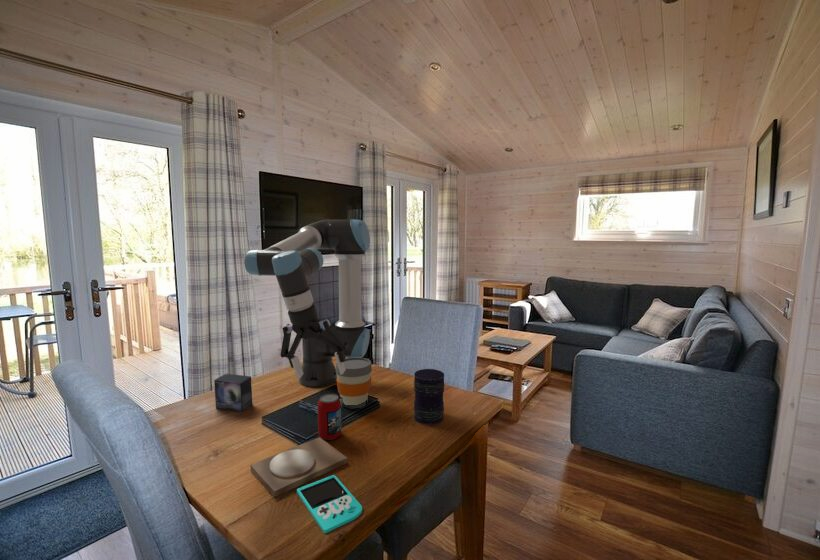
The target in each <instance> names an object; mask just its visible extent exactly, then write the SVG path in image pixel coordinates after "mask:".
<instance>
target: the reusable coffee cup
mask: <svg viewBox="0 0 820 560" xmlns="http://www.w3.org/2000/svg"><path fill="white" fill-rule="evenodd" d="M344 365H345V368H346V370H345V372H344V373H343V374H341V375H340V372H339V368H338V365H337V362H336V365H335V369H336V373H337V380H336V386H337V392H338V394H339V396H340V397H342V398H343V402H344V404H345V405H358V404H361V403H363V402H365V401H366V400H367V401H368V398H369V397H368V396H369V392H370V391H371V390H370V389H371V383H372V376H371V373H372V371H373V368H372V361H371V360H370V359H369V358H364V357H361V358H360V357H351V358H347V357H345V361H344Z"/></svg>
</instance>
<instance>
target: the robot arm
mask: <svg viewBox="0 0 820 560" xmlns="http://www.w3.org/2000/svg"><path fill="white" fill-rule="evenodd" d="M370 244H371V236H370V231H369V228H368V226H367V224H366V222H365V221H364V220H362V219H354V218H352V219H351V218H349V219H331V218H330V219H321V220H318V221H316V222H312V223H310V224H307V225H305V226H303V227H301V228H300V229H299V230H298V231H297V233H295V234H293V235H291V236H289V237H287V238H286V239H283V240H281V241H279V242H277V243H275V244H273V245H271V246H269V247H267V248H265V249H255V250H254V249H252V250H249V251H247V252H246V254H245V255H244V261H243V264H244V269H245V271H246V272H247V273H248V274H249V275H253V276H254V275H255V276H259V277H260V276H270V277H271V276H272V277H273V276H274V277H276V279H277V283H278V286H279V289H280V292H281V295H282V299H283V301H284V306H285V308H286V310H287V311H288V312H287V315H288V318H289V320H290V321H289V322H290V323H291V324H290V323H287V324H285V325H284V326H283V327H282V334H283V337H282V343H281V344H282V345H281V350H280V357H281V358H287V360H288V362H289V365H290V367H291V368H292V369H293V370H294V372H295V375H296V379H297V380H298V382H299V384H300V385H301V386H305V387H309V388H310V387H312V388H313V387H315V388H317V387H325V386H328V385H333V383H335V382H337V373H336V365H335V364H334V361H333V357H334V358H335V361H336V363H337V365H338V368H339V372H340V375H341V374H343V373H344V372H345V370H346V368H345V365H344V361H345V358H351V357H360V358H364V356H365V355H366V354H367V352H368V351H367V350H368V347H369V344H370V337H371V333H370V332H371V331H370V329H368V328H366V323H365V322H364V321H363V320H362V274H361V273H362V259H363V258H364V256H366V251H368V250H369V249H370ZM319 250H333V251H334V255H335V257H336V258H337V259H338V320H337V321H336V322H335V323H334V325H333V323H332V321H331V319H330V317H329V318H328V317H327V318H325V320H320V318H319V315H318V310H317V308H316V304H315V303H314V301H315V300H314V298H313V294H312V292H311V289H310V285H309V281H308V279H309V278H310V277H312V276H314V275H315V274H317V273H318V272H319V271H320V270H321V269H322V267H323V265H324V257H323V254H322V253H321V252H320V251H319ZM292 332H294V333H295V334H296V335H295V337H294V340H293V342H292V344H291V343H290V342H291V339H292V337H291V336H292ZM301 341H302V342H301ZM300 343H302V346H301V347H302V365H301V362H300V358H299V355H298V354H296V351H297V349H298V347H299V345H300ZM290 344H291V346H290Z"/></svg>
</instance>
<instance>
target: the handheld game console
mask: <svg viewBox="0 0 820 560" xmlns="http://www.w3.org/2000/svg"><path fill="white" fill-rule="evenodd" d="M296 494H297V495H298V496H299V498H300V500H302V502H303V504H304V505H305V507H306V508H307V510H308V511H309V513H310V514H311V516H312V517H313V518H314V520H315V522H316V523H317V525H318V526H319V528H320V529H321V530H322V532H323V533H324V534H328V533H329V532H331V531H333V530H335V529H337V528H339V527H341V526H343V525H346V524H348V523H350V522H352V521H354V520H356V519H357V518H358V517H359V516H360V515H361V514H362V512H363V506H362V505H361V503H360V502H359V500H357V499H356V497H355V496H354V495H353V494H352V493H351V492H350V490H349V489H348V488H347V487H346V486H345V485H344V484H343V483H342V482H341V480H340V479H339V478H338V477H337V476H336V475H335V474H332V475H329V476H327V477H325V478H321V479H320V480H316V481H314V482H312V483H309V484H306V485H304V486H301V487H299V488H297V489H296Z"/></svg>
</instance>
